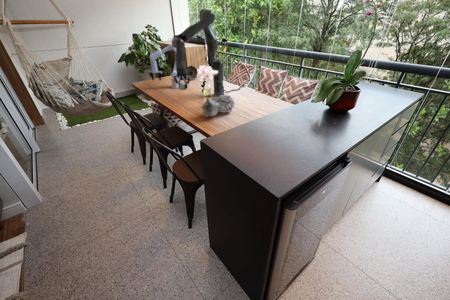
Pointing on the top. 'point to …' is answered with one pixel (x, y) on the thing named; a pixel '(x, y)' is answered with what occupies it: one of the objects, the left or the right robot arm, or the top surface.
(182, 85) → the block
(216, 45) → the right robot arm
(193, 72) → the bark piece
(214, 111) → the rock
